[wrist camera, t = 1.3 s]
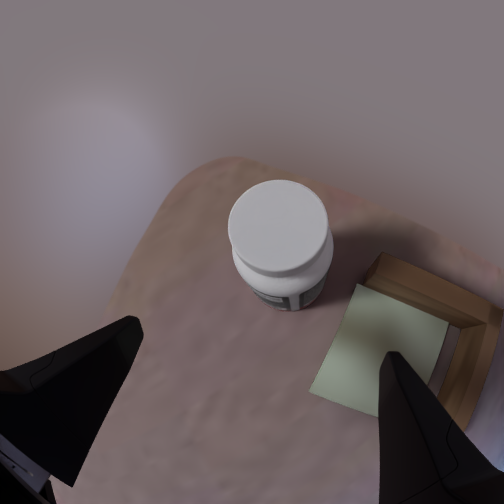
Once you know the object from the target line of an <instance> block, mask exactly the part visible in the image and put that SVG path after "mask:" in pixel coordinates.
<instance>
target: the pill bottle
mask: <svg viewBox="0 0 504 504" xmlns="http://www.w3.org/2000/svg"><path fill="white" fill-rule="evenodd" d="M228 233H229V238H230V241H231V244H232V253H233V259H234V262H235V265H236V268H237V270H238V272H239V273H240V275H241V276H242V278H243V279H244V281H245V282H246V283H247V284H248V285H249V286H250V288H251V289H252V290H253V291H254V293H255V294H256V295H257V296H258V298H259V299H260V300H261V301H262V302H263V303H265V304H266V305H267V306H269V307H271V308H273V309H275V310H279V311H296V310H300V309H302V308H304V307H306V306H308V305H310V304H311V303H312V302H313V301H314V300H315V299H316V298H317V297H318V295H319V294H320V292H321V290H322V288H323V286H324V283H325V280H326V277H327V274H328V271H329V268H330V265H331V262H332V257H333V250H334V244H333V237H332V233H331V230H330V227H329V222H328V215H327V212H326V209H325V207H324V205H323V203H322V201H321V200H320V198H319V197H318V196H317V195H316V194H315V193H314V192H313V191H312V190H310V189H309V188H307V187H306V186H304V185H301V184H299V183H296V182H293V181H288V180H271V181H266V182H263V183H260V184H258V185H255V186H253V187H252V188H250V189H249V190H247V191H246V192H245V193H244V194H242V195H241V197H240V198H239V199H238V200H237V201H236V203H235V205H234V206H233V208H232V210H231V213H230V216H229V222H228Z"/></svg>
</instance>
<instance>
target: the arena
mask: <svg viewBox="0 0 504 504" xmlns="http://www.w3.org/2000/svg"><path fill="white" fill-rule="evenodd" d="M503 311H504V309H502V308H500V307H498V306H496V305H494V304H492V303H490V302H489V301H487V300H485V299H483V298H481V297H479V296H477V295H475V294H473V293H471V292H469V291H467V290H465V289H463V288H461V287H459V286H457V285H454V284H452V283H450V282H448V281H446V280H444V279H442V278H440V277H438V276H435V275H433V274H431V273H429V272H427V271H425V270H422V269H420V268H418V267H416V266H414V265H411V264H409V263H407V262H405V261H402V260H400V259H398V258H396V257H393V256H391V255H389V254H386V253H384V252H382V253H381V254H380V255H379V256H378V258H377V259H376V260H375V262H374V263H373V264H372V265H371V267H370V268H369V269H368V272H367V275H366V278H365V281H364V283H363V286H362V285H360V284H358V283H357V285H356V287H355V290H354V293H353V295H352V298H351V300H350V303H349V305H348V308H347V310H346V312H345V315H344V317H343V320H342V322H341V324H340V327H339V329H338V331H337V334H336V336H335V338H334V340H333V342H332V345H331V347H330V349H329V351H328V353H327V355H326V358H325V360H324V362H323V364H322V366H321V368H320V370H319V372H318V374H317V376H316V378H315V380H314V382H313V384H312V386H311V388H310V390H309V392H311V393H313V394H316V395H318V396H321V397H323V398H326V399H328V400H331V401H333V402H336V403H338V404H341V405H344V406H346V407H349V408H352V409H355V410H358V411H360V412H363V413H366V414H369V415H372V416H375V417H378V399H379V370H380V366H381V364H382V362H383V359H384V357H385V355H386V353H387V352H388V351H398V352H400V353H401V354H402V356H403V357H404V358H405V359H406V360H407V362H408V363H409V364H410V365H411V366H412V368H413V369H414V370H415V371H416V373H417V374H418V375H419V376H420V377H421V379H422V380H423V381H424V382H425V384H426V385H427V384H428V382H429V379H430V377H431V374H432V372H433V369H434V367H435V364H436V361H437V359H438V356H439V353H440V350H441V347H442V344H443V341H444V338H445V335H446V331H447V328H448V325H449V324H451V325H453V326H455V327H458V328H460V329H461V332H460V336H459V339H458V342H457V346H456V349H455V352H454V355H453V358H452V361H451V364H450V366H449V369H448V372H447V375H446V377H445V380H444V382H443V385H442V387H441V390H440V392H439V394H438V397H437V399H438V400H439V401H440V403H441V404H442V405H443V407H444V408H445V409H446V410H447V412H448V413H449V414H450V416H451V417H452V419H453V420H454V421H455V422H456V423H457V425H458V426H459V427H460V429H461V430H462V431H463V432H464V431H465V429H466V427H467V425H468V422H469V420H470V418H471V416H472V414H473V411H474V409H475V407H476V404H477V402H478V399H479V397H480V394H481V391H482V389H483V386H484V383H485V380H486V377H487V374H488V371H489V368H490V365H491V362H492V358H493V355H494V351H495V347H496V344H497V340H498V335H499V331H500V327H501V322H502V317H503Z"/></svg>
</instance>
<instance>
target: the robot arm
mask: <svg viewBox="0 0 504 504" xmlns="http://www.w3.org/2000/svg"><path fill="white" fill-rule="evenodd" d="M143 336H144V334H143V330H142V327H141V324H140V320H139V319H138V318H137V317H135V316H130V315H128V316H126V317H124V318H122V319H120V320H118V321H115V322H113V323H111V324H109V325H107V326H105V327H103V328H101V329H99V330H97V331H95V332H93V333H91V334H89V335H86V336H84V337H82V338H80V339H78V340H76V341H74V342H72V343H70V344H68V345H66V346H64V347H62V348H60V349H58V350H56V351H53V352H51V353H49V354H47V355H45V356H42V357H40V358H38V359H36V360H33V361H30V362H28V363H25V364H22V365H20V366H17V367H14V368H12V369H9V370H5V371H0V504H56V500H55V497H54V493H53V489H52V485H51V481H50V480H49V479H48V478H49V477H50V475H53V476H54V477H56V478H57V479H59V480H60V481H62V482H64V483H65V484H67V485H68V486H70V487H73V485H74V483H75V481H76V479H77V477H78V474H79V472H80V470H81V468H82V465H83V463H84V461H85V459H86V457H87V455H88V452H89V449H90V448H91V446H92V444H93V442H94V439H95V437H96V435H97V433H98V431H99V429H100V427H101V425H102V423H103V421H104V419H105V417H106V415H107V413H108V411H109V409H110V407H111V405H112V403H113V401H114V399H115V397H116V396H117V394H118V392H119V390H120V388H121V386H122V384H123V382H124V380H125V378H126V377H127V375H128V373H129V371H130V369H131V366H132V364H133V362H134V359H135V357H136V354H137V352H138V350H139V347H140V345H141V342H142V340H143ZM378 420H379V442H380V489H379V504H504V472H502V471H500V470H498V469H497V468H495V467H494V466H493V465H492V464H491V463H490V462H489V461H488V460H487V458H486V457H485V456H484V455H483V454H482V453H481V452H480V451H479V450H478V449H477V448H476V446H475V445H474V444H473V443H472V442H471V441H470V440H469V439H468V437H467V436H466V435H465V434H464V432H463V431H462V430H461V429H460V427H459V426H458V425H457V423H456V422H455V421H454V420H453V419H452V417H451V416H450V414H449V413H448V412H447V410H446V409H445V408H444V407H443V405H442V404H441V403H440V401H439V400H438V399H437V398H436V396H435V395H434V394H433V392H432V391H431V390H430V389H429V387H428V386H427V385H426V384H425V382H424V381H423V380H422V379H421V377H420V376H419V375H418V374H417V373H416V371H415V370H414V369H413V368H412V366H411V365H410V364H409V363H408V362H407V360H406V359H405V358H404V357H403V356H402V354H401V353H400V352H398V351H388V352H387V353H386V355H385V357H384V359H383V362H382V364H381V366H380V370H379V399H378Z"/></svg>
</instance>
